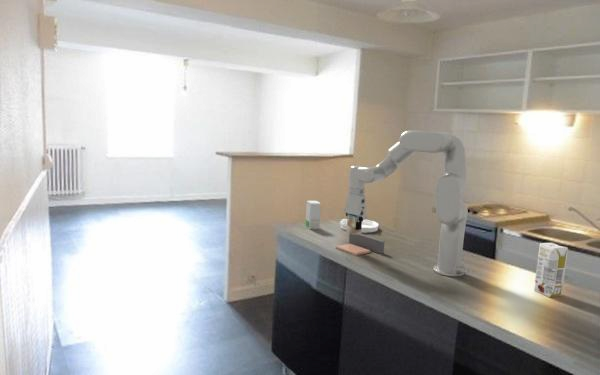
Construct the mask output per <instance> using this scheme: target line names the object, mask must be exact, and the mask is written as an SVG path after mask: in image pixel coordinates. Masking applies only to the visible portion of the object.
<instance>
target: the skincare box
mask: <svg viewBox="0 0 600 375" xmlns="http://www.w3.org/2000/svg"><path fill="white" fill-rule="evenodd" d="M305 209H306V210H305V222H304V226H305V228H307V229H308V230H319V229H320V223H321V211H322V210H321V209H322V203H321V202H319V201H317V200H306V208H305Z"/></svg>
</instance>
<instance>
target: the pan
mask: <svg viewBox="0 0 600 375" xmlns="http://www.w3.org/2000/svg"><path fill="white" fill-rule="evenodd" d="M339 224H340V229H342V230H343V231H345V232H347V218H343V219H342V218H341V220H340V221H339ZM379 226H380V225H379V223H378V222H377V221H374V220H369V219H364V220H363V221H362V229H361V234H369V233H370V234H371V233H375V232H378V230H379V229H378V228H379Z"/></svg>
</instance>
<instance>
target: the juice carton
mask: <svg viewBox="0 0 600 375" xmlns="http://www.w3.org/2000/svg"><path fill="white" fill-rule="evenodd" d="M538 247H539V249H538V255H537V264H536V271H535V277H534V279H535V280H534V286H533V289H534V292H536V293H539V294H541V295H543V296H545V297H547V298H555V297H561V296H562V294H563V288H564V282H565V274H566V267H567V259H568V250H569V247H568V246H562V245H559V244H556V243H555V242H540V243H539V246H538Z"/></svg>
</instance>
